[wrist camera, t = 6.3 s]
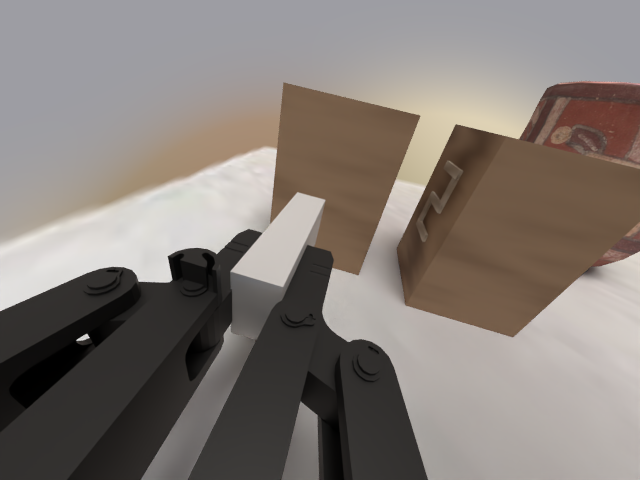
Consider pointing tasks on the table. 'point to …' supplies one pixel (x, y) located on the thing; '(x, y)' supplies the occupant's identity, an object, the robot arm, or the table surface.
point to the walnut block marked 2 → (510, 228)
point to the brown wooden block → (340, 165)
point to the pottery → (593, 133)
